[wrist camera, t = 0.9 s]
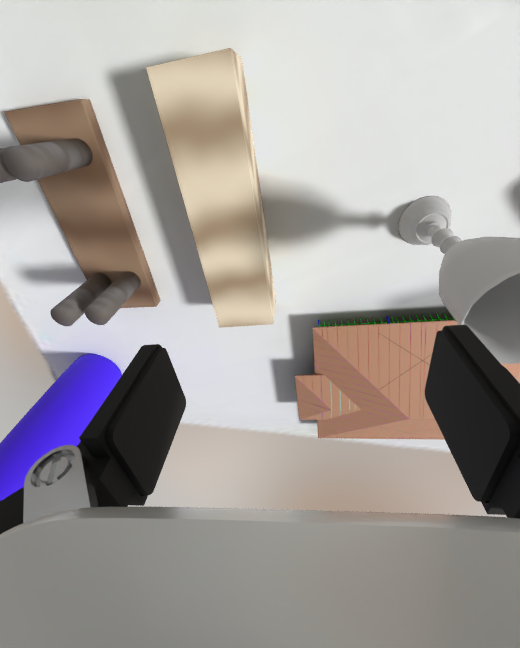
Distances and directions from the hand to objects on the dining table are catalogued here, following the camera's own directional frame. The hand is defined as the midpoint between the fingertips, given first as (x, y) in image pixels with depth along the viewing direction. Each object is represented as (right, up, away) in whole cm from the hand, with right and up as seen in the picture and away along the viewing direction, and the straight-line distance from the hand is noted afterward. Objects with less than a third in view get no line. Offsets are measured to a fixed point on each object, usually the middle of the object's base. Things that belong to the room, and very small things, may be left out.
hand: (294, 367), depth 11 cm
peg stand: (-20, +14, +24) cm, 34 cm away
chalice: (+16, +12, +21) cm, 29 cm away
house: (+21, -6, +34) cm, 40 cm away
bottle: (-28, -6, +40) cm, 49 cm away
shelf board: (-4, +14, +22) cm, 27 cm away
